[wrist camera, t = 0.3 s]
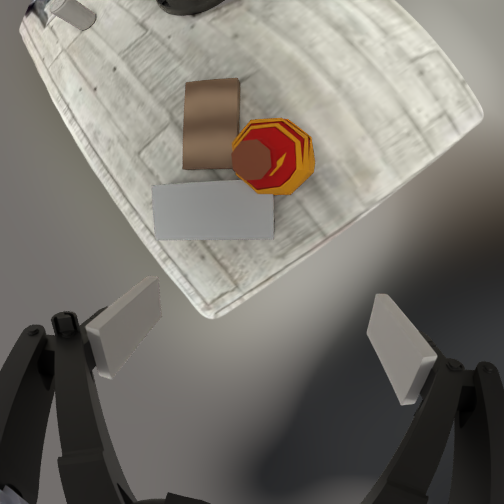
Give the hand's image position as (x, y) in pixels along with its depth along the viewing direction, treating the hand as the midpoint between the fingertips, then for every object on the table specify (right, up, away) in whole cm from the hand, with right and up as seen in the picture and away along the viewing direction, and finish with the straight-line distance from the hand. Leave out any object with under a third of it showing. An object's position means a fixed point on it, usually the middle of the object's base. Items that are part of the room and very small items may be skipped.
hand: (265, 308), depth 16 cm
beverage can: (-37, +54, +18) cm, 67 cm away
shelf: (-5, +10, +26) cm, 28 cm away
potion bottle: (+4, +17, +22) cm, 29 cm away
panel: (-7, +23, +23) cm, 33 cm away
